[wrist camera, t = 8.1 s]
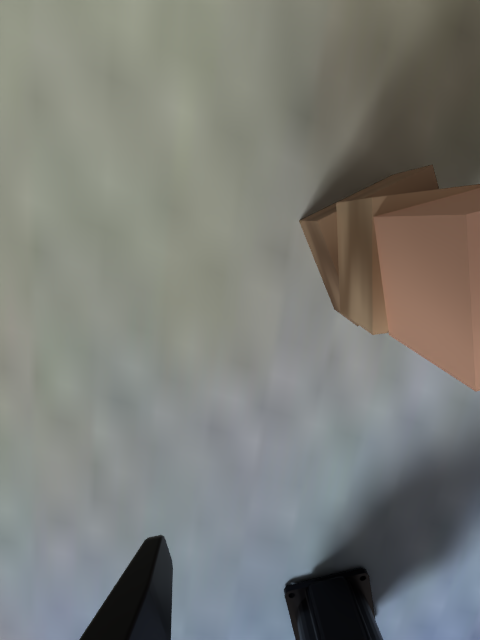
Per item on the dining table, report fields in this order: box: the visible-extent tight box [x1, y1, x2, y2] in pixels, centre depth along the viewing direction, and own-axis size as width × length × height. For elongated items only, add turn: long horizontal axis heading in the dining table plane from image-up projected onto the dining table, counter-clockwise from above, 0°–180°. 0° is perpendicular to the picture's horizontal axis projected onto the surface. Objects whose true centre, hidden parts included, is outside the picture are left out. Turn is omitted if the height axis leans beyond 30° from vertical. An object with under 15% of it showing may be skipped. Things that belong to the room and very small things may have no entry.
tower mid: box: [336, 184, 480, 335], centre depth 14 cm, size 5×5×4 cm
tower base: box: [299, 165, 439, 326], centre depth 17 cm, size 6×6×4 cm
